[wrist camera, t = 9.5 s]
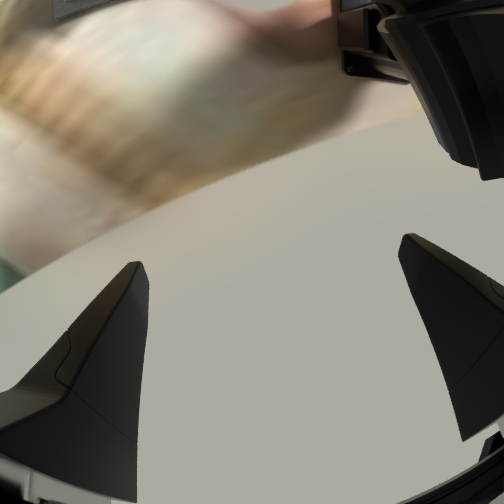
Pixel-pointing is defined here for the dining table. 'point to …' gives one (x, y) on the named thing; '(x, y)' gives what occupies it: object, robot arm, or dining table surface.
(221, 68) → the dining table surface
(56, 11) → the gray square tray
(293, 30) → the dining table surface
